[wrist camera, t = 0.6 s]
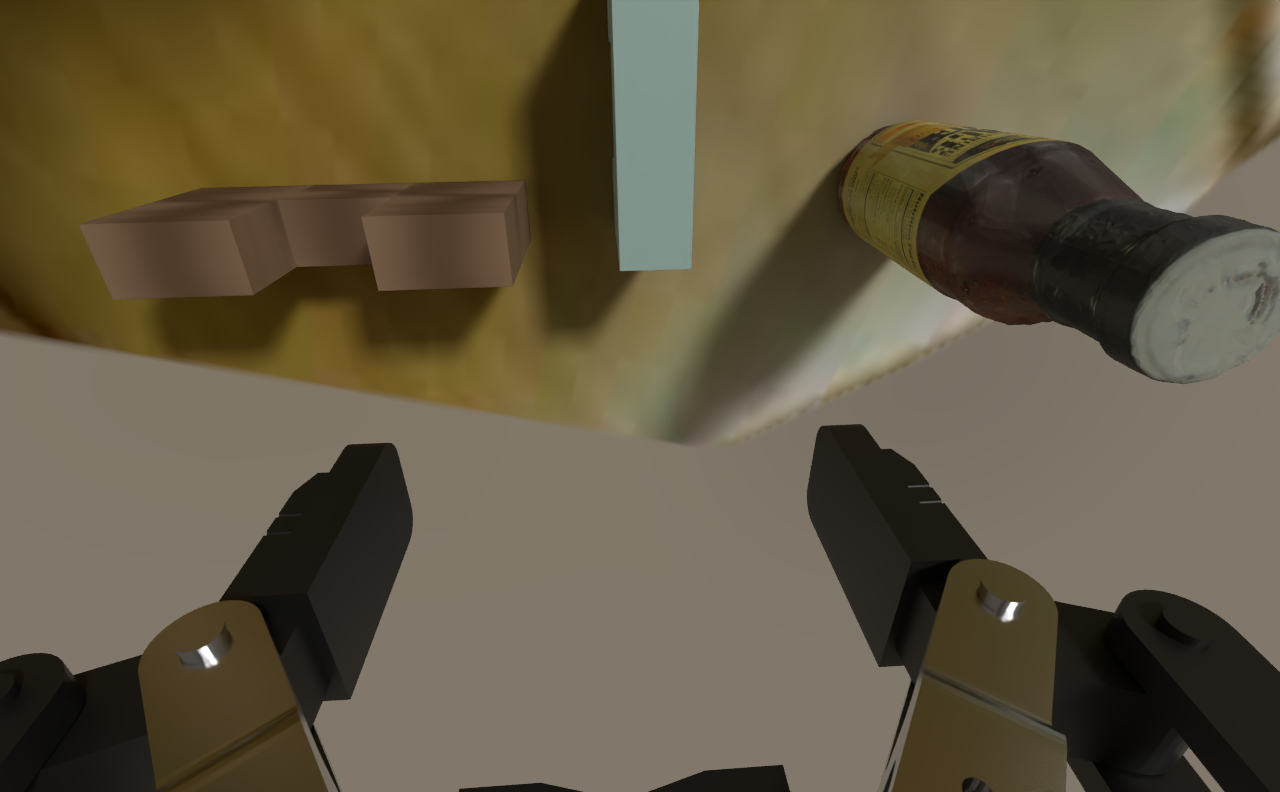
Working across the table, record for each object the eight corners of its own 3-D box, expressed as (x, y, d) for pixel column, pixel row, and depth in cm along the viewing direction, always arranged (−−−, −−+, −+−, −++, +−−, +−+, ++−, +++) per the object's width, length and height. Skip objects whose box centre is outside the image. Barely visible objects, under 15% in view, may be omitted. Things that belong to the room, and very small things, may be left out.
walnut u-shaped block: (221, 248, 31) (113, 299, 24) (200, 188, 30) (78, 224, 23) (530, 239, 32) (512, 286, 25) (525, 180, 30) (504, 212, 23)
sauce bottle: (968, 136, 31) (1451, 219, 13) (912, 252, 34) (1253, 446, 16) (854, 100, 30) (1223, 141, 12) (807, 224, 32) (1051, 399, 15)
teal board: (605, -50, 26) (608, -95, 19) (673, -51, 26) (701, -95, 19) (614, 227, 32) (619, 271, 25) (670, 225, 32) (691, 268, 25)
